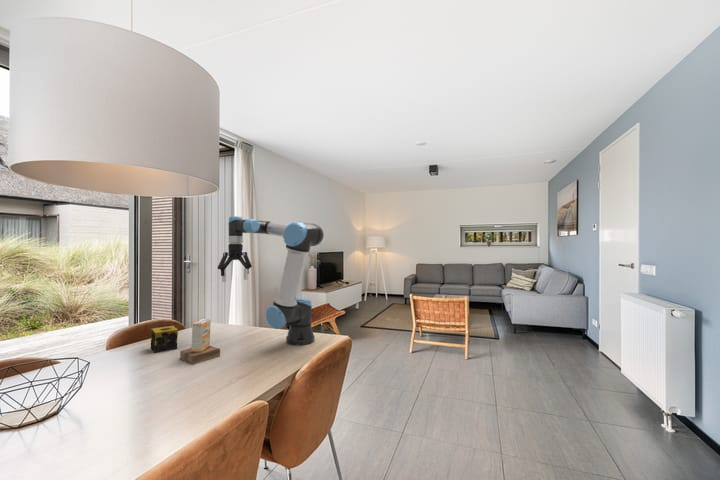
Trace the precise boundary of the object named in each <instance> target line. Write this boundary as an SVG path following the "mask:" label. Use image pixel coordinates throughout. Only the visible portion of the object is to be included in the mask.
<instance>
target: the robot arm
mask: <svg viewBox="0 0 720 480" xmlns="http://www.w3.org/2000/svg"><path fill="white" fill-rule="evenodd" d="M227 223H228V245H227V246H228V252H227V251H224V252H223V253H222V257H221V259H220V261H219V264H218V265H217V270H220V276H221V283H227V270H226V269H227V267H228V266H229V265H230V264H231V262H233V261H239V262H240V263H241V265H242V266H243V267H244V268H243V280H244V281H248V279H249V277H248V276H249V275H248V274H250V272H249V271H250V270H249V269H251V268H252V267H253V266H252V263H251V261H250V258H249V256H248V252H247V251H243V246H244V245H243V243H244V239H243V238H244V237H243V235H244V234H260V235H261V234H262V235H269V236H270V235H271V236H277V237H281V238H283V242H284V244H286V245H285V248H286V250H287V255H286V258H285V263H284V267H283V273H282V277H281V281H280V286H279V290H278V294H277V296H276V297H275V298H274V299H273V302H272V305H270V306H269V307H267V309H266V312H265V318H266V321H267V323H268V325H269V326H270V327H271V328H273V329H277V330H279V329H284V328H287V327H288V332H287V336H286V338H285V339H286V340H285V343H286V344H288V345H292V346H305V345H310V344H312V343H314V342H315V339H316V337H315V335H314V334H315V333H314V330H313V327H312V311H313V310H312V307H313V306H312V300H311V299H310V298H305V297H304V298H303V297H296V296H297V293H298V289H299V284H300V279H301V275H302V270H303V267H304V263H305V262H304V261H305V257H306V255H307V254H308V253H310V249H311V247H315V246H318V245H320V244H321V243H322V241H323V239H324V237H325V236H324V235H325V234H324V230H323V228H322V227H321V226H320V225H318V224H316V223H308V222H301V221H298V222H297V221H296V222H295V221H293V222H291V223H281V222H274V221H272V220H271V221H270V220H257V219H254V218H248V219H244V218H243V216H238V215H237V216H235V215H234V216H229V217H228V222H227Z"/></svg>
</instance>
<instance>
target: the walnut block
mask: <svg viewBox="0 0 720 480" xmlns="http://www.w3.org/2000/svg"><path fill="white" fill-rule="evenodd" d="M220 357H221V349H220V348H218V347H216V346H213V345H210V346H209V347H208V348H206V349H205V350H203V351H202V352H192V347H191V348H187V349H183V350H180V351H179V358H180V360H182V361H184V362H188V363H190V364H192V365H196V364H200V363H204V362H206V361H209V360H213V359H215V358H220Z"/></svg>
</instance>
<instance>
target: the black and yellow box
mask: <svg viewBox="0 0 720 480" xmlns="http://www.w3.org/2000/svg"><path fill="white" fill-rule="evenodd" d="M150 330H151V334H150V335H151V339H150V350H151V351H152V352H153V353H154V354H157V353H158V352H159V353H162V352H168V351H173V350H177V349H178V335H179V334H178V333H179V332H178V331H179V330H178V328H177V327H175V325H170V326H162V327H154V328H151V329H150Z"/></svg>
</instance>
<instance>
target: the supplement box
mask: <svg viewBox="0 0 720 480" xmlns="http://www.w3.org/2000/svg"><path fill="white" fill-rule="evenodd" d="M211 320H212V319H211V318H200V319H199V320H197V321H195V322H193V323H192V324H191V325H192V327H191V348H192V352H202V351H203V350H205V349H206V348H208V347H209V346H211V322H212V321H211Z"/></svg>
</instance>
